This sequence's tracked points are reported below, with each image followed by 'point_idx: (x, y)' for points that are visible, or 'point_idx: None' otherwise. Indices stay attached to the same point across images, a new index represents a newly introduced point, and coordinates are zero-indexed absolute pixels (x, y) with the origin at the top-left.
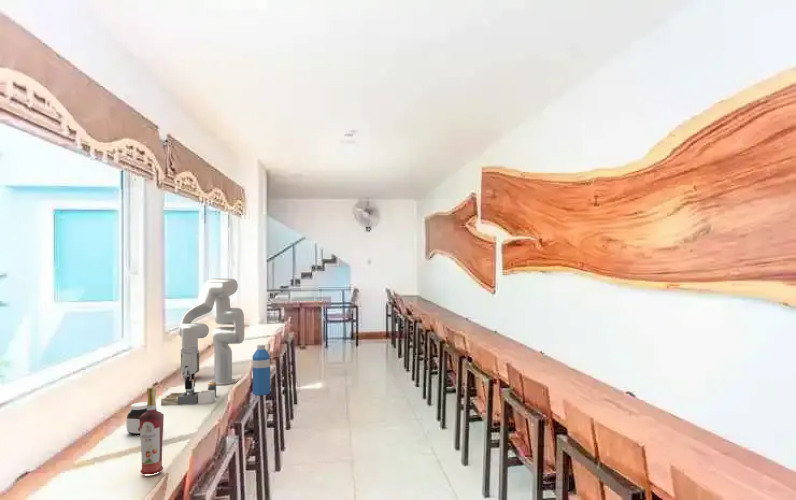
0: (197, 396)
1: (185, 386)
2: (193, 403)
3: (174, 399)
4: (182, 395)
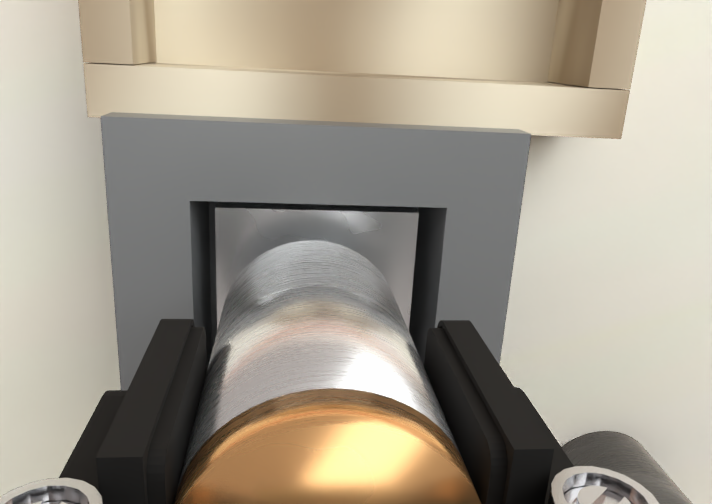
0: None
1: (151, 361)
2: None
3: (87, 42)
4: (212, 193)
